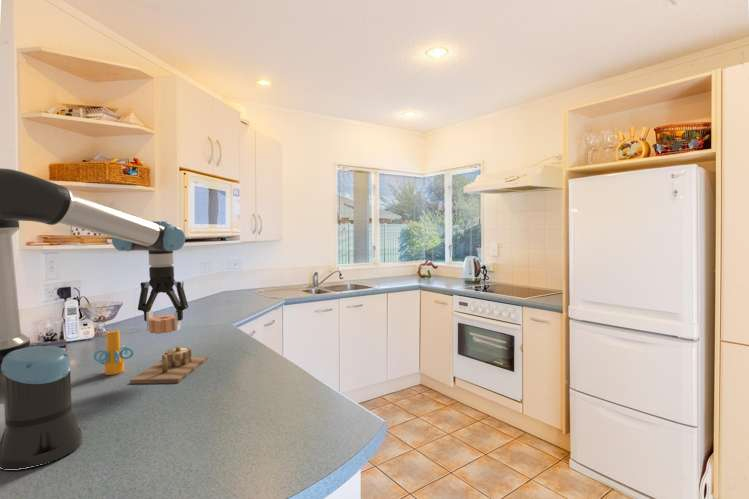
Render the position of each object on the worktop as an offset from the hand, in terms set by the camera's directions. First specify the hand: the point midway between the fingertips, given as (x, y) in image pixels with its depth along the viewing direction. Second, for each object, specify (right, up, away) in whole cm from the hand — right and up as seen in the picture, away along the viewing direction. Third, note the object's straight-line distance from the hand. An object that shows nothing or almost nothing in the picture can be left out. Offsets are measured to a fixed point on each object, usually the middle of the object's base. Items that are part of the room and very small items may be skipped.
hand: (164, 329), depth 138 cm
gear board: (0, -16, +6) cm, 17 cm away
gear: (0, 0, 0) cm, 0 cm away
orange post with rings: (-20, -16, +4) cm, 26 cm away
